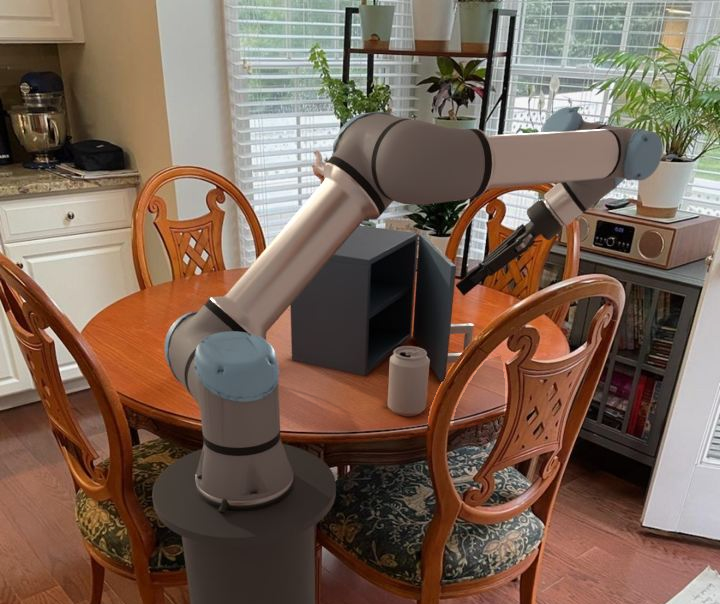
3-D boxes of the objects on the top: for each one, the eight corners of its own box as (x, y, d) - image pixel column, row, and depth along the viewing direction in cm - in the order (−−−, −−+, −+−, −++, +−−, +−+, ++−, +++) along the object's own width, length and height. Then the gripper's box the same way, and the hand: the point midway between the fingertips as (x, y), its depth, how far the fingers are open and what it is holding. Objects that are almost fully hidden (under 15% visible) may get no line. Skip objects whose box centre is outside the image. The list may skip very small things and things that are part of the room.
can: (381, 403, 140) (383, 346, 134) (416, 399, 142) (420, 341, 136) (396, 420, 134) (399, 360, 128) (432, 414, 136) (437, 356, 130)
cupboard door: (439, 336, 172) (448, 233, 160) (471, 380, 150) (485, 265, 138) (412, 337, 171) (419, 234, 159) (440, 381, 149) (451, 266, 137)
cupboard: (411, 337, 172) (418, 233, 159) (365, 375, 151) (368, 259, 139) (345, 324, 178) (346, 223, 165) (291, 360, 158) (288, 247, 145)
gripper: (566, 234, 135) (469, 312, 147) (563, 220, 146) (472, 294, 157) (542, 203, 133) (446, 285, 145) (540, 191, 144) (451, 268, 155)
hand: (460, 289), depth 151 cm, fingers closed
